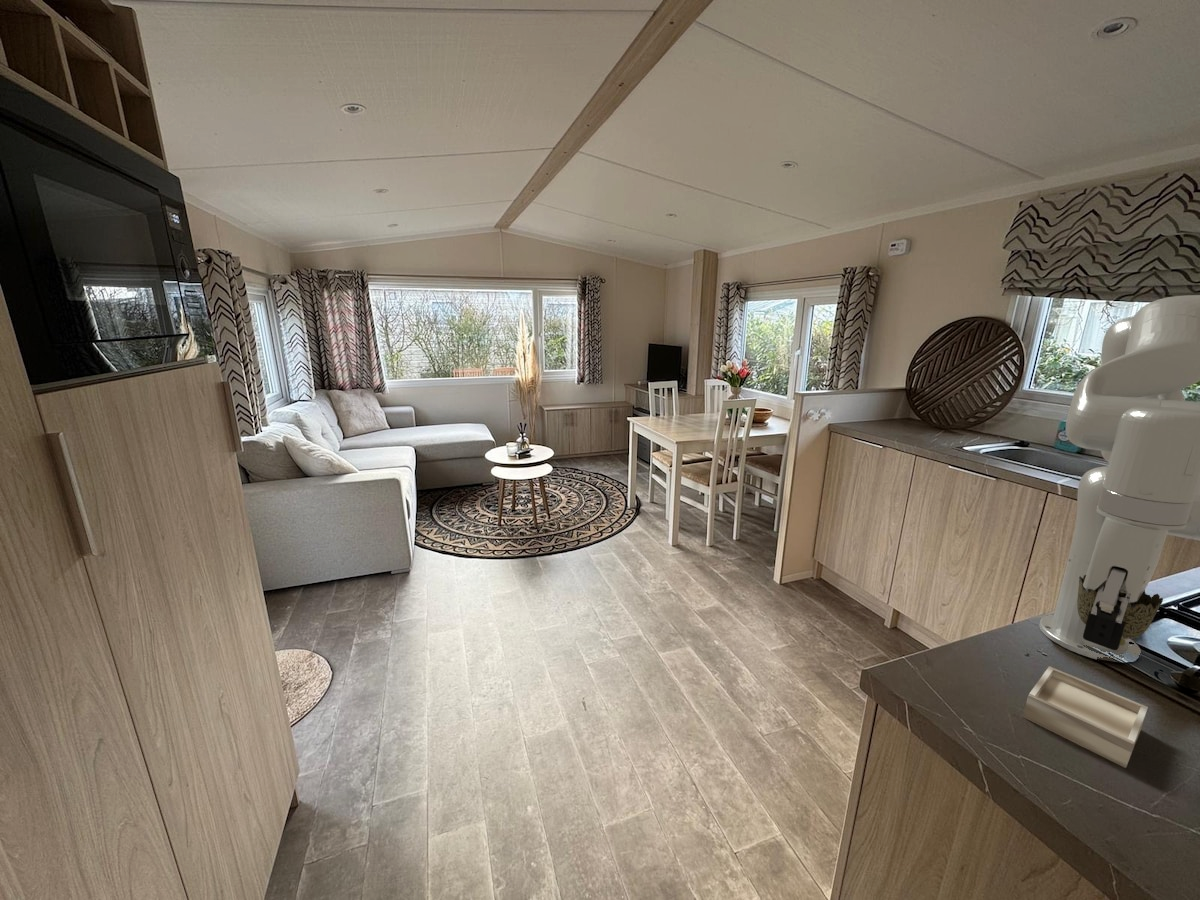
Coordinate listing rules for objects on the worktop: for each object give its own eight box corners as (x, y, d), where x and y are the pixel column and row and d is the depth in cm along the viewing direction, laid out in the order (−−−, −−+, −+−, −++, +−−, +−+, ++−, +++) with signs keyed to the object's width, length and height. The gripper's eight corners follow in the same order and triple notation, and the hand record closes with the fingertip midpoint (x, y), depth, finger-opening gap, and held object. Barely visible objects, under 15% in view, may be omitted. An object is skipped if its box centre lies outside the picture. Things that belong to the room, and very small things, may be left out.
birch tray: (1044, 686, 74) (1049, 665, 73) (1140, 729, 66) (1148, 707, 65) (1022, 717, 69) (1028, 695, 68) (1125, 768, 61) (1133, 744, 60)
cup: (1163, 663, 60) (1181, 606, 58) (1093, 655, 61) (1109, 599, 59) (1114, 628, 67) (1129, 576, 65) (1052, 622, 68) (1065, 570, 67)
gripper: (1114, 486, 67) (1083, 600, 72) (1082, 513, 58) (1050, 643, 62) (1197, 501, 61) (1159, 624, 66) (1178, 534, 52) (1134, 676, 56)
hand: (1106, 632), depth 64 cm, fingers closed on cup, 6 cm apart
